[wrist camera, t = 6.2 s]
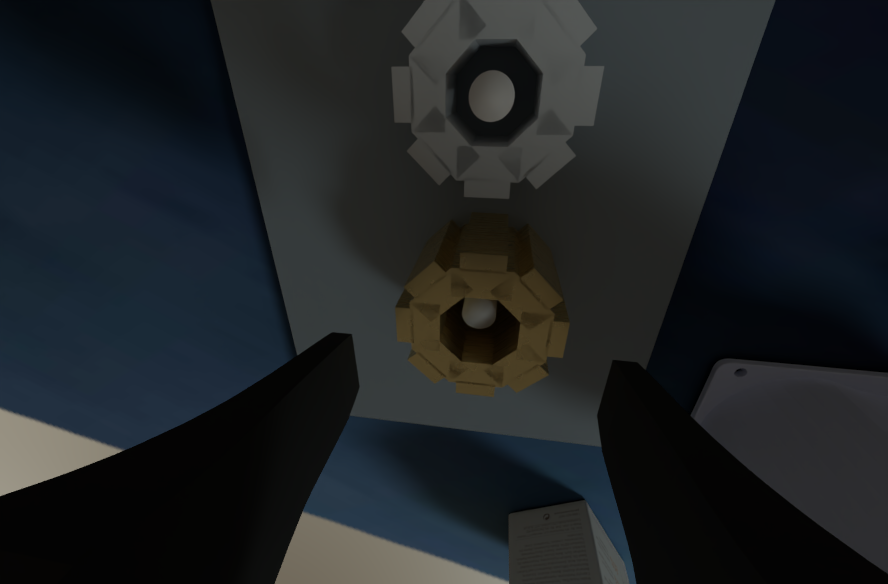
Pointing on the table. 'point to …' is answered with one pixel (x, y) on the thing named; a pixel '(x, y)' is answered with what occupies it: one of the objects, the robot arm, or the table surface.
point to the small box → (562, 547)
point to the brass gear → (485, 277)
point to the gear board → (485, 169)
